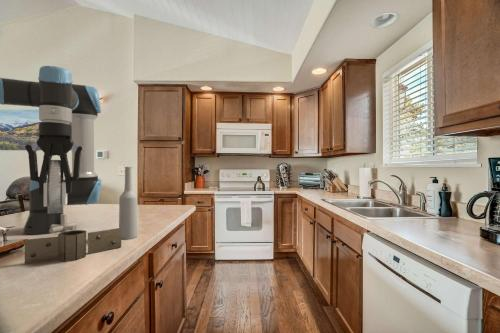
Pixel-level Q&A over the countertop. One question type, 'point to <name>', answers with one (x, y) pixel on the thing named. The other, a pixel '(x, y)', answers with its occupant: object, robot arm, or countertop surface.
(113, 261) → the countertop surface
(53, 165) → the hinge pin
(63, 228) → the pipe connector
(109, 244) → the loose leaf
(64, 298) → the countertop surface
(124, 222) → the bottle
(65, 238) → the knuckle and fixed leaf
